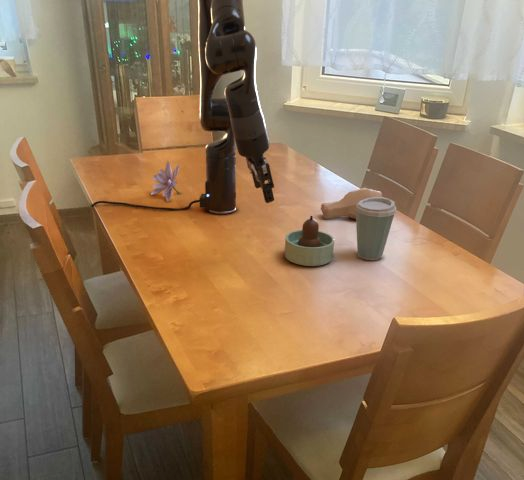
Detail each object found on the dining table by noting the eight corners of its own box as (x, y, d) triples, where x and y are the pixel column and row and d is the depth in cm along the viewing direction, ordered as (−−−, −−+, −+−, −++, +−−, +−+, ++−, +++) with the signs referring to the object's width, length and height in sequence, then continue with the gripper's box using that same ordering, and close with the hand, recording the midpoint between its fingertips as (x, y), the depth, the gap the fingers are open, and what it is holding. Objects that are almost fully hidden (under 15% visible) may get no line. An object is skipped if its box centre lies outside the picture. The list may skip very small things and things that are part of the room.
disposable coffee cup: (364, 266, 142) (372, 210, 134) (341, 251, 150) (347, 197, 142) (396, 259, 147) (406, 205, 138) (372, 245, 155) (380, 193, 146)
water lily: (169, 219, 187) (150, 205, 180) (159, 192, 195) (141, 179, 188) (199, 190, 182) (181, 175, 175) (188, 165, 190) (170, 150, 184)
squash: (388, 222, 172) (391, 196, 165) (326, 232, 170) (326, 206, 164) (377, 205, 179) (379, 180, 173) (318, 214, 178) (318, 189, 172)
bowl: (283, 266, 141) (284, 246, 138) (285, 247, 152) (286, 228, 149) (332, 269, 140) (334, 249, 137) (331, 249, 151) (333, 231, 148)
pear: (296, 259, 143) (299, 219, 137) (297, 250, 148) (300, 211, 142) (319, 261, 143) (323, 220, 137) (319, 252, 148) (323, 212, 142)
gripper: (226, 125, 128) (242, 187, 140) (242, 147, 118) (258, 212, 129) (256, 115, 129) (270, 177, 140) (274, 136, 119) (288, 201, 130)
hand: (264, 194), depth 135 cm, fingers open, 8 cm apart
